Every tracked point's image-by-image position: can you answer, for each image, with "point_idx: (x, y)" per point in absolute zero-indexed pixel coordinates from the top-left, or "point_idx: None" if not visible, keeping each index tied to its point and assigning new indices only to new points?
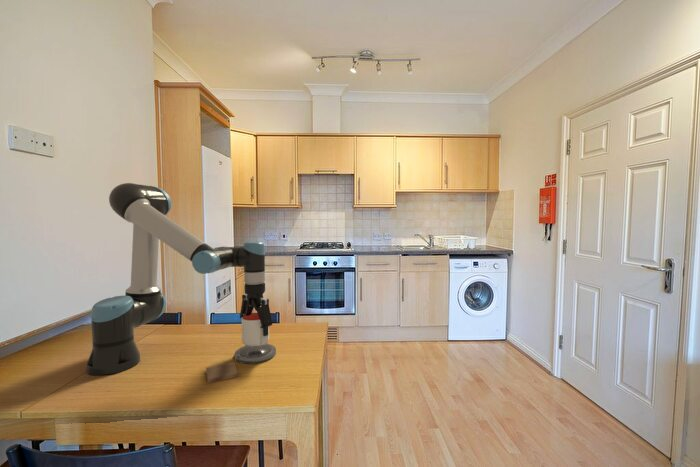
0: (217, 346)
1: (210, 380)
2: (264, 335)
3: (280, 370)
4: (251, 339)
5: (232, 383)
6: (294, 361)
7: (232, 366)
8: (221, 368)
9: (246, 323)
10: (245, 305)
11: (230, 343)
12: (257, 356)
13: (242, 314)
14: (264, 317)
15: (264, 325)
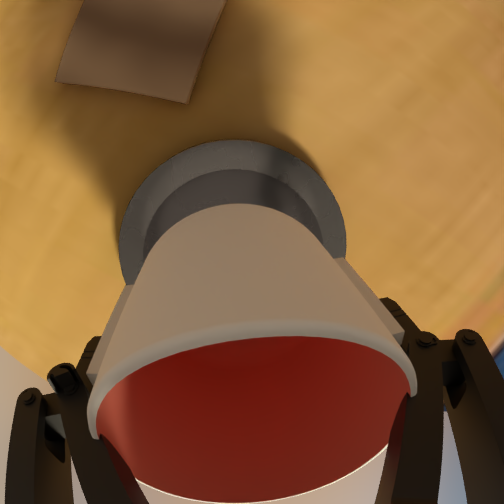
0: (461, 166)
1: None
2: (95, 339)
3: (18, 255)
4: (153, 251)
5: (32, 51)
6: (63, 333)
7: (138, 77)
8: (159, 25)
9: (172, 310)
10: (485, 471)
11: (447, 225)
12: (145, 232)
13: (465, 370)
14: (17, 459)
15: (61, 400)
